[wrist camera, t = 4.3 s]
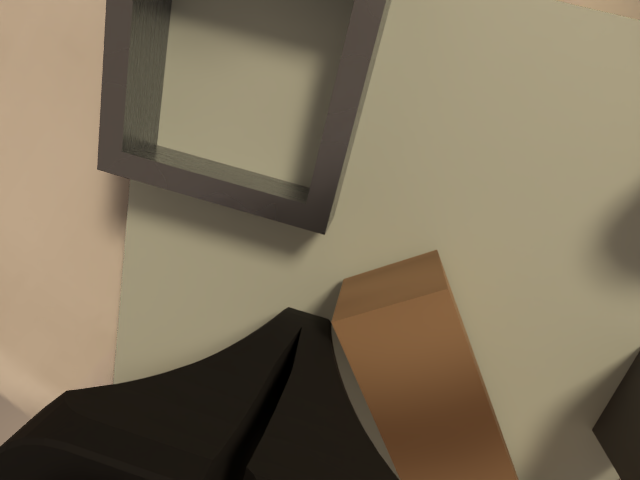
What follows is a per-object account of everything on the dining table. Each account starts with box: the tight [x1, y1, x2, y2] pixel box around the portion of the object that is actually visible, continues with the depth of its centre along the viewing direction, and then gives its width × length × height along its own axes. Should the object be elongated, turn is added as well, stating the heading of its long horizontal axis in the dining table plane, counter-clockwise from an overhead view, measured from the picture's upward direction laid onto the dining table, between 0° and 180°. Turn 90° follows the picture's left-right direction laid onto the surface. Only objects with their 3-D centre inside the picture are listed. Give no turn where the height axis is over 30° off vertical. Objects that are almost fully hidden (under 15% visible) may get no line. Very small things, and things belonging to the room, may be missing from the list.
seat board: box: [113, 0, 640, 480], centre depth 11 cm, size 16×16×4 cm
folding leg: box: [331, 250, 519, 480], centre depth 11 cm, size 10×3×3 cm, turn 22°
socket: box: [97, 0, 392, 235], centre depth 10 cm, size 6×6×2 cm
